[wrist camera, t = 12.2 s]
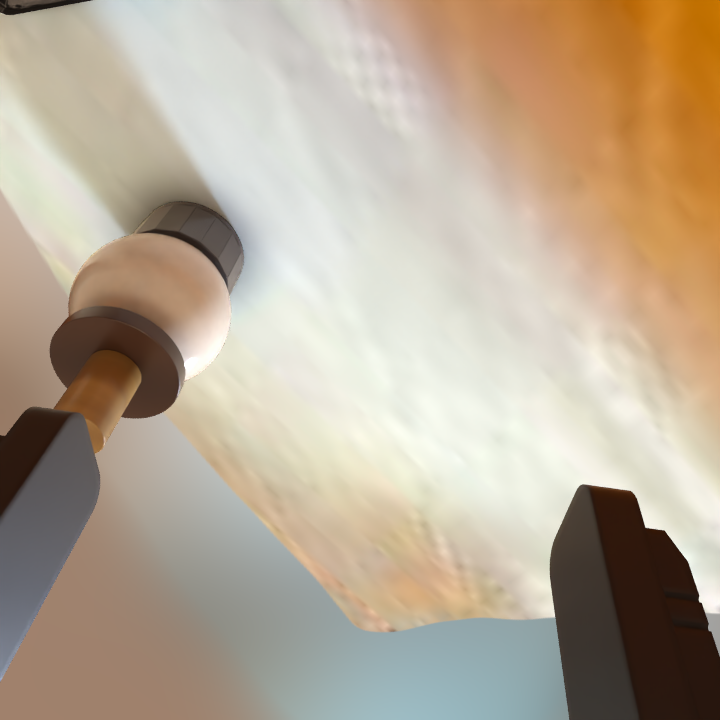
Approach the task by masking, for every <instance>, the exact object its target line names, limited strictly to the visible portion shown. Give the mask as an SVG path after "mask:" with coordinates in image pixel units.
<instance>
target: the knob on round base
mask: <svg viewBox="0 0 720 720" xmlns="http://www.w3.org/2000/svg"><path fill="white" fill-rule="evenodd" d="M50 358H51V363H52V365H53V368H54V370H55V372H56V374H57V376H58V377H59V379H60V380H61V382H62V383H63V384H64V385H65V386H66V387H67V390H66V392H65V393H64V394H63V396H62V397H61V399H60V400H59V402H58V403H57V404H56V406H55V407H54V409H56V410H63V411H70V412H78V413H81V414H82V415H83V416H84V418H85V420H86V423H87V427H88V431H89V435H90V439H91V442H92V446H93V450H94V454H95V453H97V452H99V451H100V450H102V449H103V447H104V445H105V444H106V442H107V440H108V438H109V437H110V435H111V433H112V431H113V430H114V428H115V426H116V425H117V423H118V421H119V419H120V418H121V417H124V418H147V417H152V416H155V415H157V414H160V413H162V412H164V411H166V410H167V409H168V408H169V407H171V405H172V404H173V403H174V402H175V400H176V399H177V397H178V395H179V393H180V391H181V389H182V387H183V384H184V381H185V375H186V372H185V364H184V360H183V357H182V354H181V352H180V350H179V349H178V347H177V345H176V344H175V343H174V341H173V340H172V339H171V338H170V336H169V335H168V334H167V333H166V332H165V331H164V330H162V329H161V328H160V327H159V326H157V325H156V324H155V323H153V322H152V321H150V320H149V319H147V318H145V317H143V316H141V315H139V314H137V313H134V312H132V311H129V310H126V309H122V308H118V307H112V306H93V307H87V308H84V309H81V310H79V311H77V312H75V313H73V314H72V315H70V316H69V317H68V318H67V319H66V320H65V321H64V323H63V324H62V325H61V326H60V327H59V329H58V330H57V331H56V332H55V334H54V336H53V337H52V340H51V344H50Z"/></svg>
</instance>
